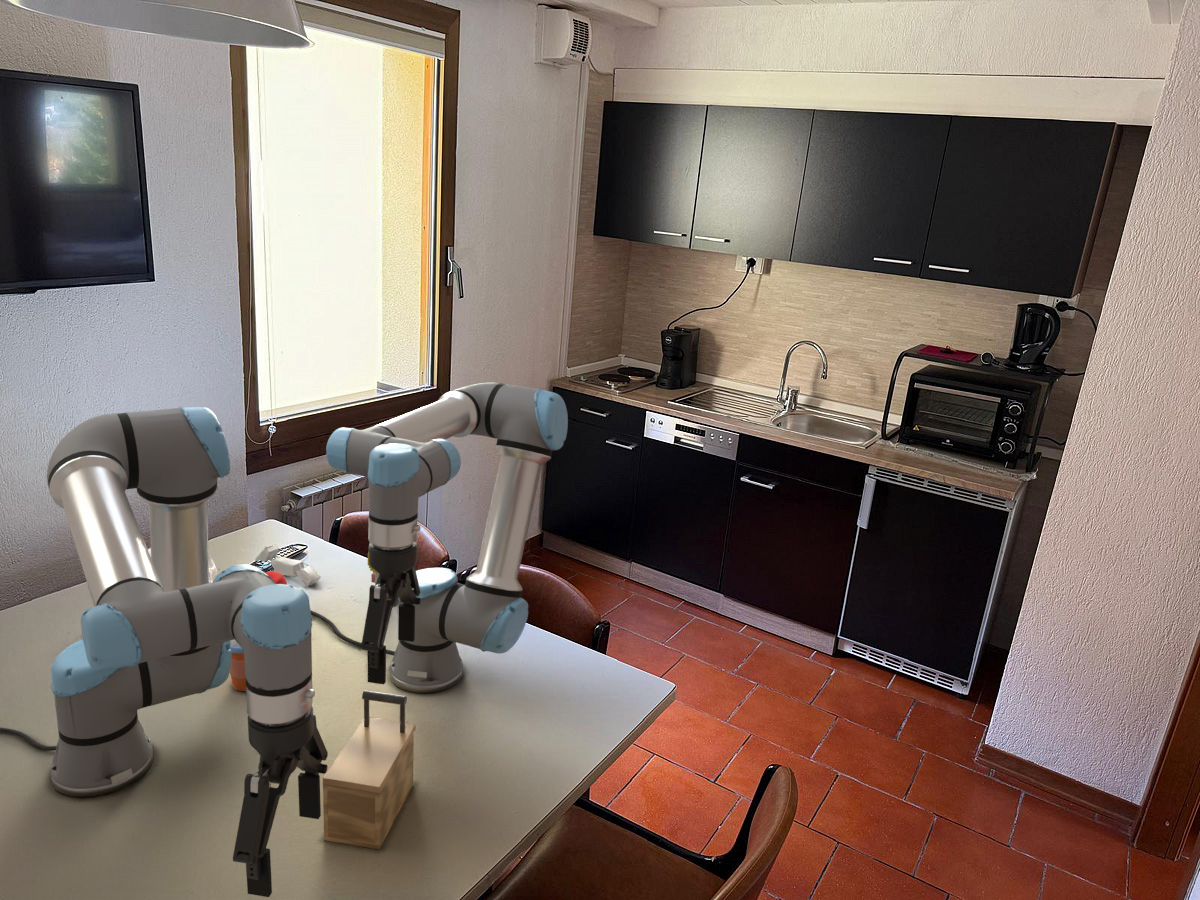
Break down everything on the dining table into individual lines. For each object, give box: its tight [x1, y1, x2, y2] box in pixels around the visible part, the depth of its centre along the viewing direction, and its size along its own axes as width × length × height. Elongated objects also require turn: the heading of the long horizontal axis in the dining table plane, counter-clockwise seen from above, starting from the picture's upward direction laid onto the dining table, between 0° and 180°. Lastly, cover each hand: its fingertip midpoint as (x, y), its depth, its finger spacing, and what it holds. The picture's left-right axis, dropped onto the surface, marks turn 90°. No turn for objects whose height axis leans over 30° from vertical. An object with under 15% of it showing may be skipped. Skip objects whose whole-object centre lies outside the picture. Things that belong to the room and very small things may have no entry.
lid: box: [322, 689, 417, 793], centre depth 138 cm, size 16×9×8 cm, turn 173°
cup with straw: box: [229, 639, 246, 692], centre depth 171 cm, size 9×9×18 cm
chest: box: [322, 733, 415, 850], centre depth 141 cm, size 16×9×10 cm, turn 173°
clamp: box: [254, 544, 322, 587], centre depth 219 cm, size 20×4×7 cm, turn 62°
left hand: (286, 852), depth 110 cm, fingers open, 13 cm apart
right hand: (392, 660), depth 141 cm, fingers open, 13 cm apart
